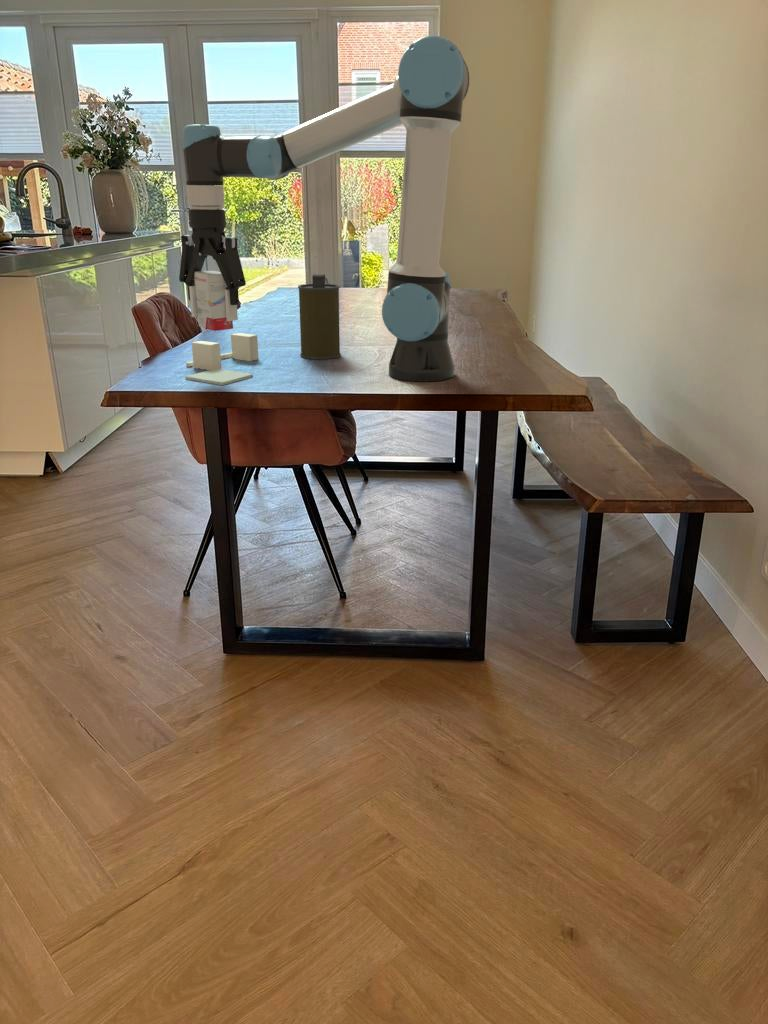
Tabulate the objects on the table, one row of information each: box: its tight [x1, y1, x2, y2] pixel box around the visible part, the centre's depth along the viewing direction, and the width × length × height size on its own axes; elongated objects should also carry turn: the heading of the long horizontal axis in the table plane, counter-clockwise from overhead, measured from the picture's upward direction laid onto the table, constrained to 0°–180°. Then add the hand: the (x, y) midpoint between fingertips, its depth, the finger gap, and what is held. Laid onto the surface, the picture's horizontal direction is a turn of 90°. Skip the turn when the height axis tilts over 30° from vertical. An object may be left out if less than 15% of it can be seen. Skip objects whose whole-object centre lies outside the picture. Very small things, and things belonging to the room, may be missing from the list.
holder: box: [185, 332, 259, 371], centre depth 186 cm, size 8×16×6 cm, turn 149°
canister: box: [297, 273, 342, 360], centre depth 193 cm, size 11×10×20 cm
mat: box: [185, 369, 254, 386], centre depth 172 cm, size 11×10×1 cm
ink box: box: [194, 270, 234, 332], centre depth 165 cm, size 9×5×12 cm, turn 34°
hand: (214, 318), depth 167 cm, fingers closed on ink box, 10 cm apart
